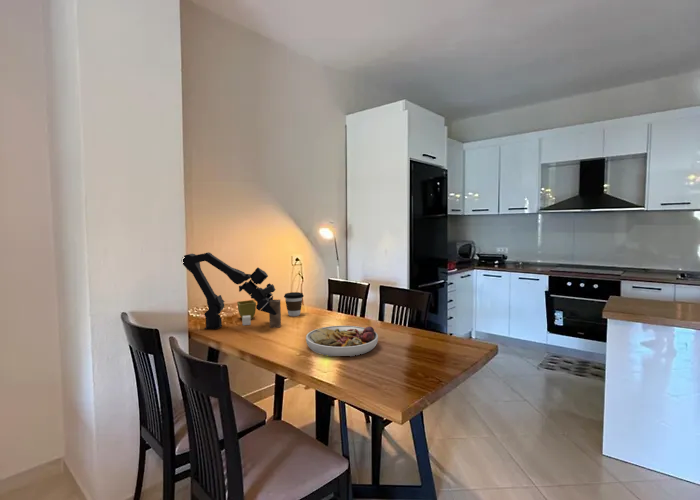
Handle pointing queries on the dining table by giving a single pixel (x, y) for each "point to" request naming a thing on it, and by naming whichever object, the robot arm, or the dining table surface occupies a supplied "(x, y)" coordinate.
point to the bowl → (342, 340)
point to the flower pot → (247, 308)
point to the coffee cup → (293, 303)
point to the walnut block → (276, 319)
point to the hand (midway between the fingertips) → (277, 312)
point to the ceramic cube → (246, 320)
